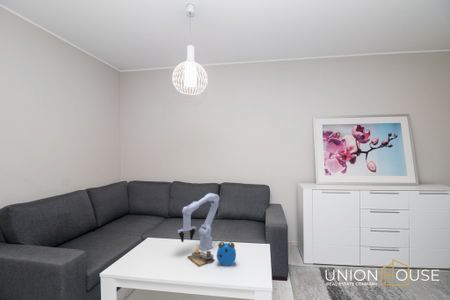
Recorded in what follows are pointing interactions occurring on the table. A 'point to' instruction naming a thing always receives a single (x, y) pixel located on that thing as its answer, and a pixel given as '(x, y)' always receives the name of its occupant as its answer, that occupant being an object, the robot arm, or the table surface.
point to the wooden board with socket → (201, 258)
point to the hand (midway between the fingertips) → (186, 240)
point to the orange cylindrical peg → (197, 250)
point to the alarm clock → (226, 253)
